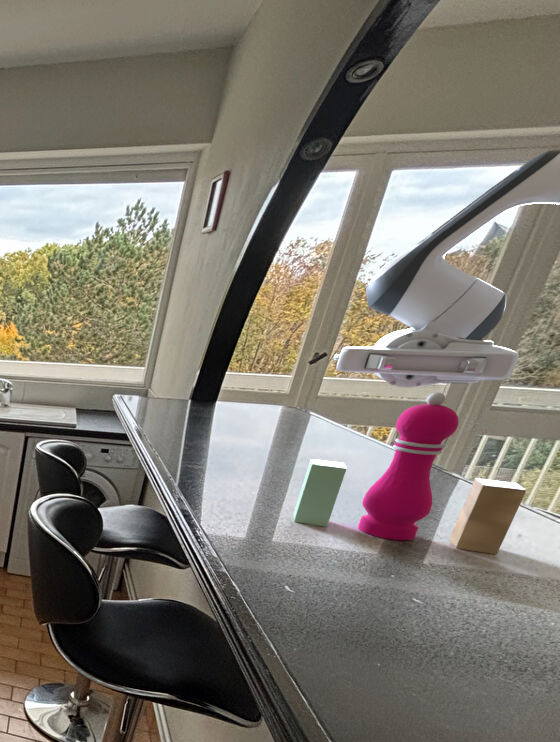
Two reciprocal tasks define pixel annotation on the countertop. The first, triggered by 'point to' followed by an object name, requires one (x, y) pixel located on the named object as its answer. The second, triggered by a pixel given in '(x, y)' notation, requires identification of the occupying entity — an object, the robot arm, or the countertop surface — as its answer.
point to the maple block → (487, 515)
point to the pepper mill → (409, 472)
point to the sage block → (319, 492)
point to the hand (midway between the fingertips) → (429, 365)
